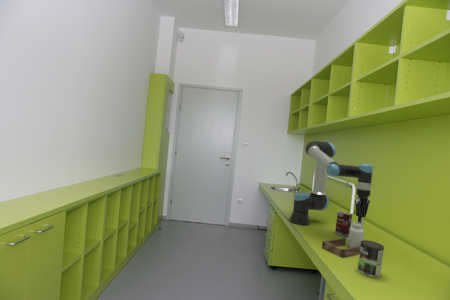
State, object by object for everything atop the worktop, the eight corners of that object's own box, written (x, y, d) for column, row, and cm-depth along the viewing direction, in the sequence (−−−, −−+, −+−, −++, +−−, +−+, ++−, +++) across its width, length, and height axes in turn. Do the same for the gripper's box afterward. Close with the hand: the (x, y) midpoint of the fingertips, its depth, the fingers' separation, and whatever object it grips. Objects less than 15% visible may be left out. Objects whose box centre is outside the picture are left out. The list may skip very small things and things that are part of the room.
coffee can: (365, 276, 128) (368, 247, 127) (353, 266, 138) (356, 239, 137) (385, 278, 128) (389, 249, 128) (372, 267, 139) (375, 240, 138)
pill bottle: (354, 251, 161) (356, 226, 159) (345, 244, 169) (346, 221, 167) (365, 249, 163) (367, 225, 161) (356, 243, 171) (357, 220, 169)
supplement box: (334, 234, 190) (337, 211, 189) (338, 233, 193) (340, 211, 192) (346, 238, 183) (349, 215, 183) (350, 237, 186) (352, 214, 186)
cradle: (321, 247, 160) (322, 241, 160) (343, 243, 171) (343, 237, 171) (343, 257, 148) (343, 250, 148) (364, 252, 159) (365, 246, 159)
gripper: (363, 190, 159) (359, 230, 159) (375, 190, 166) (371, 228, 166) (351, 188, 165) (348, 226, 166) (363, 187, 172) (360, 224, 173)
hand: (359, 227), depth 166 cm, fingers closed
